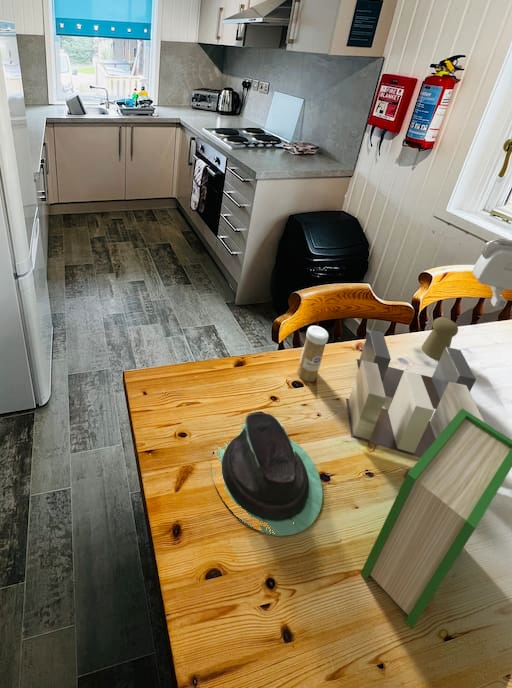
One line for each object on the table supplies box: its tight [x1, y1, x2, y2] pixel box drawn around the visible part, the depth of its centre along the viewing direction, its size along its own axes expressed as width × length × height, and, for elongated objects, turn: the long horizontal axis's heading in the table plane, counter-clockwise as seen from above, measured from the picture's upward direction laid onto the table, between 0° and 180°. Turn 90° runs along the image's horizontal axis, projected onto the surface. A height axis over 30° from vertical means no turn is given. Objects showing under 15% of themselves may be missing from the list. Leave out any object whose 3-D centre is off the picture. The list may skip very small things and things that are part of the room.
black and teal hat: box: [211, 410, 324, 537], centre depth 72 cm, size 15×19×20 cm
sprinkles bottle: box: [296, 325, 329, 383], centre depth 93 cm, size 5×5×13 cm
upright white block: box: [387, 369, 435, 453], centre depth 79 cm, size 3×9×12 cm, turn 161°
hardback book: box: [360, 409, 512, 629], centre depth 57 cm, size 18×7×24 cm, turn 125°
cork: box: [421, 316, 459, 361], centre depth 101 cm, size 6×6×11 cm
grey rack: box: [356, 329, 477, 410], centre depth 91 cm, size 20×10×11 cm, turn 72°
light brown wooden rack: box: [345, 360, 485, 459], centre depth 79 cm, size 20×10×13 cm, turn 72°
